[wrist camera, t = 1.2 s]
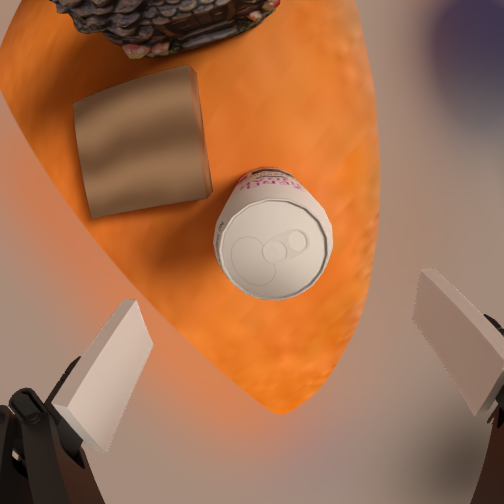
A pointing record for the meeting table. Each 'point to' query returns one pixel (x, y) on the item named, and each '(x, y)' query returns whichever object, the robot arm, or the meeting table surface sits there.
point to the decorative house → (165, 22)
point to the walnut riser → (143, 143)
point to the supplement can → (272, 236)
